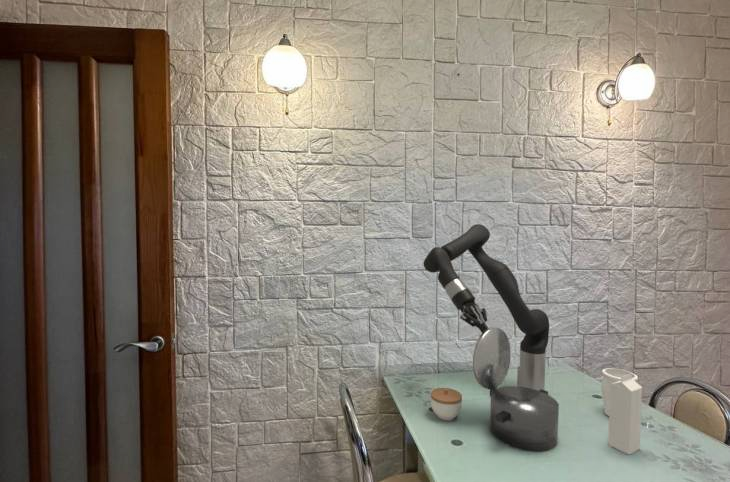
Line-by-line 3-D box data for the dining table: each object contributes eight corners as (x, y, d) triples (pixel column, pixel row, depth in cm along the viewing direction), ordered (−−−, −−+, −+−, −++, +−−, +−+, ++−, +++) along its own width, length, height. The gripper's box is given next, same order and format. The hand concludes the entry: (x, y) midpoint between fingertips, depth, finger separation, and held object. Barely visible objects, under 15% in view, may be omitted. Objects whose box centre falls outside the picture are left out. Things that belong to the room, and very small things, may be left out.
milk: (639, 449, 114) (643, 377, 113) (629, 455, 111) (632, 380, 110) (618, 439, 120) (621, 370, 119) (607, 444, 117) (610, 373, 116)
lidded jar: (443, 426, 126) (443, 399, 126) (424, 412, 136) (424, 386, 135) (468, 419, 131) (468, 392, 131) (447, 406, 141) (448, 381, 140)
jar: (642, 424, 129) (643, 380, 128) (608, 421, 131) (609, 378, 130) (627, 409, 139) (628, 368, 138) (595, 406, 141) (597, 366, 140)
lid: (477, 397, 123) (470, 394, 126) (511, 380, 136) (504, 378, 139) (476, 333, 123) (468, 332, 126) (509, 323, 136) (502, 322, 139)
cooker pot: (466, 433, 122) (467, 399, 122) (513, 406, 140) (514, 377, 140) (531, 465, 106) (532, 427, 106) (574, 431, 124) (575, 397, 124)
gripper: (454, 289, 134) (483, 332, 125) (476, 286, 143) (505, 325, 134) (441, 302, 139) (469, 344, 130) (464, 298, 147) (491, 337, 138)
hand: (488, 334), depth 132 cm, fingers closed
